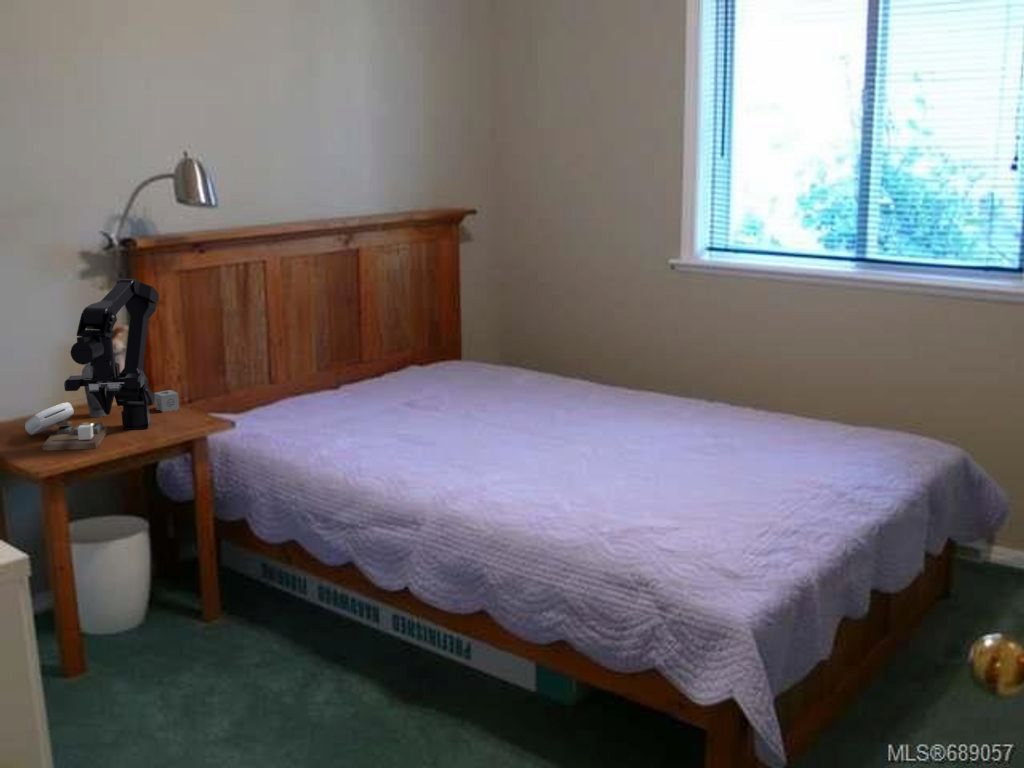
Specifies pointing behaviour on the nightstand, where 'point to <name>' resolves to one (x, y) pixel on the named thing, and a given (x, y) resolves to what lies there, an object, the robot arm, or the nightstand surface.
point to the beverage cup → (92, 402)
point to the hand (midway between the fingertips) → (107, 414)
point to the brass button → (89, 424)
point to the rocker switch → (64, 423)
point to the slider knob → (85, 432)
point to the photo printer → (49, 418)
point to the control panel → (74, 438)
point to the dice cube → (166, 400)
